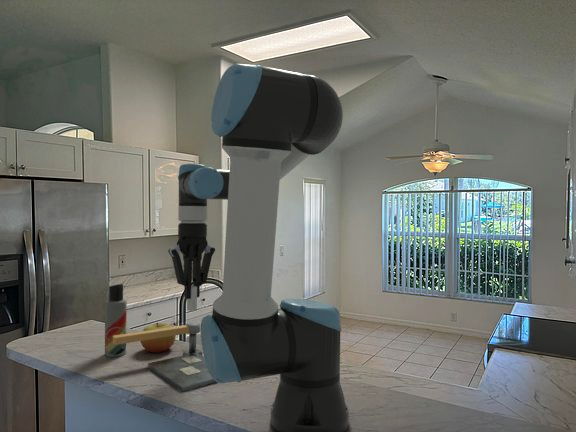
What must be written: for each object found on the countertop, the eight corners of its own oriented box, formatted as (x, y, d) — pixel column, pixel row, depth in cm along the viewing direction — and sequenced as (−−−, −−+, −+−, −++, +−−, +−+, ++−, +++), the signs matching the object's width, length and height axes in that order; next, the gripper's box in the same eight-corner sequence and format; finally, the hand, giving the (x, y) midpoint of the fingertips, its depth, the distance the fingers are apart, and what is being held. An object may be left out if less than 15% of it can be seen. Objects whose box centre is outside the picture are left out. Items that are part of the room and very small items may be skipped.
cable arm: (196, 329, 123) (196, 321, 123) (202, 332, 120) (202, 324, 120) (111, 342, 109) (112, 334, 109) (115, 346, 106) (115, 337, 106)
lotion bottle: (118, 358, 117) (119, 286, 117) (100, 356, 118) (101, 285, 118) (130, 351, 122) (130, 283, 122) (112, 350, 123) (113, 282, 123)
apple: (153, 343, 130) (153, 317, 130) (181, 346, 127) (181, 320, 127) (133, 353, 121) (133, 325, 121) (163, 356, 118) (163, 328, 118)
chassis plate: (234, 377, 103) (234, 372, 103) (182, 391, 94) (182, 386, 94) (195, 356, 119) (196, 351, 119) (147, 367, 110) (147, 362, 110)
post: (202, 354, 120) (202, 333, 120) (189, 357, 117) (189, 335, 117) (195, 351, 123) (195, 330, 123) (183, 353, 120) (183, 332, 120)
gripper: (207, 222, 119) (206, 304, 119) (163, 222, 111) (162, 311, 111) (221, 222, 114) (220, 309, 114) (176, 222, 105) (175, 316, 105)
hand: (191, 310), depth 112 cm, fingers closed
